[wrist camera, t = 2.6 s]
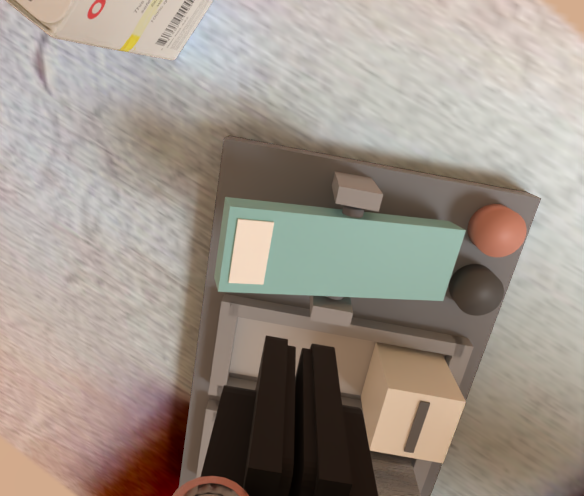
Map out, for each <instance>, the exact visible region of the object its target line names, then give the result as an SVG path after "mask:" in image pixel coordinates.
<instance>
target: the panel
mask: <svg viewBox="0 0 584 496" xmlns="http://www.w3.org/2000/svg"><path fill="white" fill-rule="evenodd" d="M225 197H231V198H240V199H250V200H259V201H268V202H278V203H287V204H296V205H305V206H315V207H324V208H333V209H343V206H345V205H346V206H351V207H357V208H361V209H363V210H364V212H371V213H380V214H389V215H399V216H408V217H417V218H426V219H436V220H445V221H450V222H452V223H454V224H455V225H457V226H459V227H461V228H463V229H465V230H466V232H465V235H464V238H463V241H462V244H461V247H460V250H459V254H458V257H457V260H456V263H455V266H454V269H453V272H452V275H451V278H450V281H449V284H448V288H447V291H446V294H445V297H444V300H443V301H431V300H407V299H383V298H359V297H343V299H340V300H334V299H330V298H328V297H326V296H311V295H287V294H263V293H239V292H218V289H217V286H216V282H215V279H214V275H215V268H216V261H217V253H218V246H219V239H220V231H221V224H222V216H223V209H224V202H225ZM540 200H541V198H539V197H537V196H534V195H532V194H530V193H528V192H523V191H517V190H512V189H507V188H502V187H496V186H491V185H486V184H481V183H475V182H470V181H465V180H460V179H454V178H449V177H444V176H438V175H433V174H428V173H423V172H417V171H412V170H407V169H402V168H396V167H391V166H386V165H381V164H375V163H370V162H365V161H360V160H354V159H349V158H344V157H338V156H333V155H328V154H323V153H317V152H312V151H307V150H302V149H296V148H291V147H286V146H281V145H275V144H270V143H265V142H259V141H254V140H249V139H244V138H238V137H233V136H227V137H226V138H224V143H223V151H222V158H221V166H220V174H219V181H218V189H217V197H216V205H215V212H214V220H213V228H212V236H211V243H210V251H209V259H208V267H207V274H206V282H205V290H204V297H203V305H202V313H201V321H200V328H199V336H198V344H197V352H196V359H195V367H194V375H193V382H192V390H191V398H190V406H189V413H188V421H187V429H186V437H185V444H184V452H183V460H182V467H181V475H180V483H179V488H180V487H181V486H182V485H184V484H185V483H186V482H188V481H191V480H193V479H196V478H198V477H201V473H202V469H203V465H204V461H205V457H206V453H207V449H208V445H209V441H210V437H211V433H212V429H213V425H214V422H215V418H216V414H217V410H218V406H219V402H220V398H221V394H222V390H223V387H224V385H227V386H233V387H239V388H245V389H251V390H255V388H256V383H257V378H258V373H259V368H260V362H261V357H262V352H263V347H264V342H265V337H266V335H267V336H273V337H279V338H284V339H288V345H289V346H295V347H296V368H295V376H296V372H297V367H298V363H299V358H300V354H301V350H302V348H307V349H310V347H311V344H312V343H313V344H319V345H325V346H331V347H334V348H335V353H336V361H337V368H338V376H339V384H340V392H341V399H342V405H347V406H353V407H359V408H361V410H362V413H363V408H362V402H361V393H362V390H363V386H364V383H365V379H366V375H367V372H368V368H369V365H370V361H371V357H372V354H373V350H374V347H375V343H376V342H379V343H385V344H390V345H396V346H401V347H407V348H412V349H418V350H423V351H429V352H434V353H440V354H442V355H443V357H444V359H445V361H446V363H447V365H448V367H449V369H450V371H451V373H452V375H453V377H454V379H455V381H456V383H457V385H458V387H459V389H460V391H461V393H462V395H463V397H464V399H465V401H466V399H467V396H468V393H469V390H470V388H471V385H472V382H473V380H474V377H475V374H476V372H477V369H478V366H479V364H480V361H481V358H482V356H483V353H484V350H485V348H486V345H487V342H488V339H489V337H490V334H491V331H492V329H493V326H494V323H495V321H496V318H497V315H498V313H499V310H500V307H501V305H502V302H503V299H504V296H505V294H506V291H507V288H508V286H509V283H510V280H511V278H512V275H513V272H514V270H515V267H516V264H517V262H518V259H519V256H520V254H521V251H522V248H523V245H524V243H525V240H526V237H527V235H528V232H529V229H530V227H531V224H532V221H533V219H534V216H535V213H536V211H537V208H538V205H539V203H540ZM363 417H364V414H363ZM364 422H365V420H364ZM365 427H366V426H365ZM366 433H367V432H366ZM410 459H411V462H412V466H413V470H414V473H415V477H416V481H417V484H418V488H419V492H420V495H421V496H430V495H431V493H432V490H433V487H434V484H435V482H436V479H437V476H438V474H439V471H440V468H441V466H442V463H438V462H432V461H427V460H421V459H415V458H410Z"/></svg>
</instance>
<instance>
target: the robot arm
mask: <svg viewBox="0 0 584 496" xmlns="http://www.w3.org/2000/svg"><path fill="white" fill-rule="evenodd" d="M295 368H296V347H295V346H289V345H288V339H284V338H279V337H273V336H267V335H266V337H265V342H264V347H263V352H262V357H261V362H260V368H259V373H258V378H257V383H256V388H255V390H251V389H245V388H239V387H233V386H227V385H224V387H223V390H222V394H221V398H220V402H219V406H218V410H217V414H216V418H215V422H214V425H213V429H212V433H211V437H210V441H209V445H208V449H207V453H206V457H205V461H204V465H203V469H202V473H201V477H198V478H196V479H193V480H191V481H188V482H186V483H185V484H184V485H182V486H181V487H180V488H178V489H177V490H176V492H175V493H174V494H173V496H378V491H377V486H376V480H375V475H374V470H373V465H372V459H371V454H370V449H369V443H368V438H367V433H366V427H365V422H364V417H363V413H362V410H361V408H359V407H353V406H347V405H342V399H341V392H340V384H339V376H338V368H337V361H336V353H335V348H334V347H331V346H325V345H319V344H313V343H312V344H311V347H310V349H307V348H302V350H301V354H300V358H299V363H298V367H297V372H296V376H295Z"/></svg>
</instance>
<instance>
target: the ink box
mask: <svg viewBox="0 0 584 496" xmlns="http://www.w3.org/2000/svg"><path fill="white" fill-rule="evenodd" d="M5 1H7V2H8V3H9V4H10V5H12V6H13V7H14V8H15V9H16V10H18V11H19V12H20V13H21V14H23V15H24V16H25V17H26V18H28V19H29V20H30V21H31V22H33V23H34V24H35V25H37V26H38V27H39V28H40V29H42V30H43V31H44V32H46V33H47V34H48V35H49V36H51V37H53V38H57V39H61V40H67V41H72V42H76V43H81V44H87V45H92V46H97V47H102V48H108V49H113V50H119V51H125V52H130V53H135V54H140V55H146V56H151V57H156V58H162V59H167V60H175V59H176V58H177V56H178V55H179V53H180V52H181V50H182V48H183V47H184V45H185V44H186V42H187V41H188V39H189V38H190V36H191V35H192V33H193V32H194V30H195V28H196V27H197V25H198V24H199V22H200V21H201V19H202V17H203V16H204V14H205V13H206V11H207V10H208V8H209V7H210V5H211V3H212V2H213V0H5Z"/></svg>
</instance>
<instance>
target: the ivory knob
mask: <svg viewBox="0 0 584 496" xmlns="http://www.w3.org/2000/svg"><path fill="white" fill-rule="evenodd" d="M361 402H362V408H363V414H364V420H365V426H366V432H367V438H368V443H369V449H370V451H375V452H381V453H386V454H392V455H398V456H404V457H409V458H415V459H421V460H427V461H432V462H438V463H443V462H444V460H445V457H446V454H447V452H448V449H449V446H450V444H451V441H452V438H453V436H454V433H455V430H456V428H457V425H458V422H459V420H460V417H461V414H462V412H463V409H464V406H465V403H466V401H465V399H464V397H463V395H462V393H461V391H460V389H459V387H458V385H457V383H456V381H455V379H454V377H453V375H452V373H451V371H450V369H449V367H448V365H447V363H446V361H445V359H444V357H443V355H442V354H440V353H434V352H429V351H423V350H418V349H412V348H407V347H401V346H396V345H390V344H385V343H379V342H376V343H375V347H374V350H373V354H372V357H371V361H370V365H369V368H368V372H367V375H366V379H365V383H364V386H363V390H362V393H361Z"/></svg>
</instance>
